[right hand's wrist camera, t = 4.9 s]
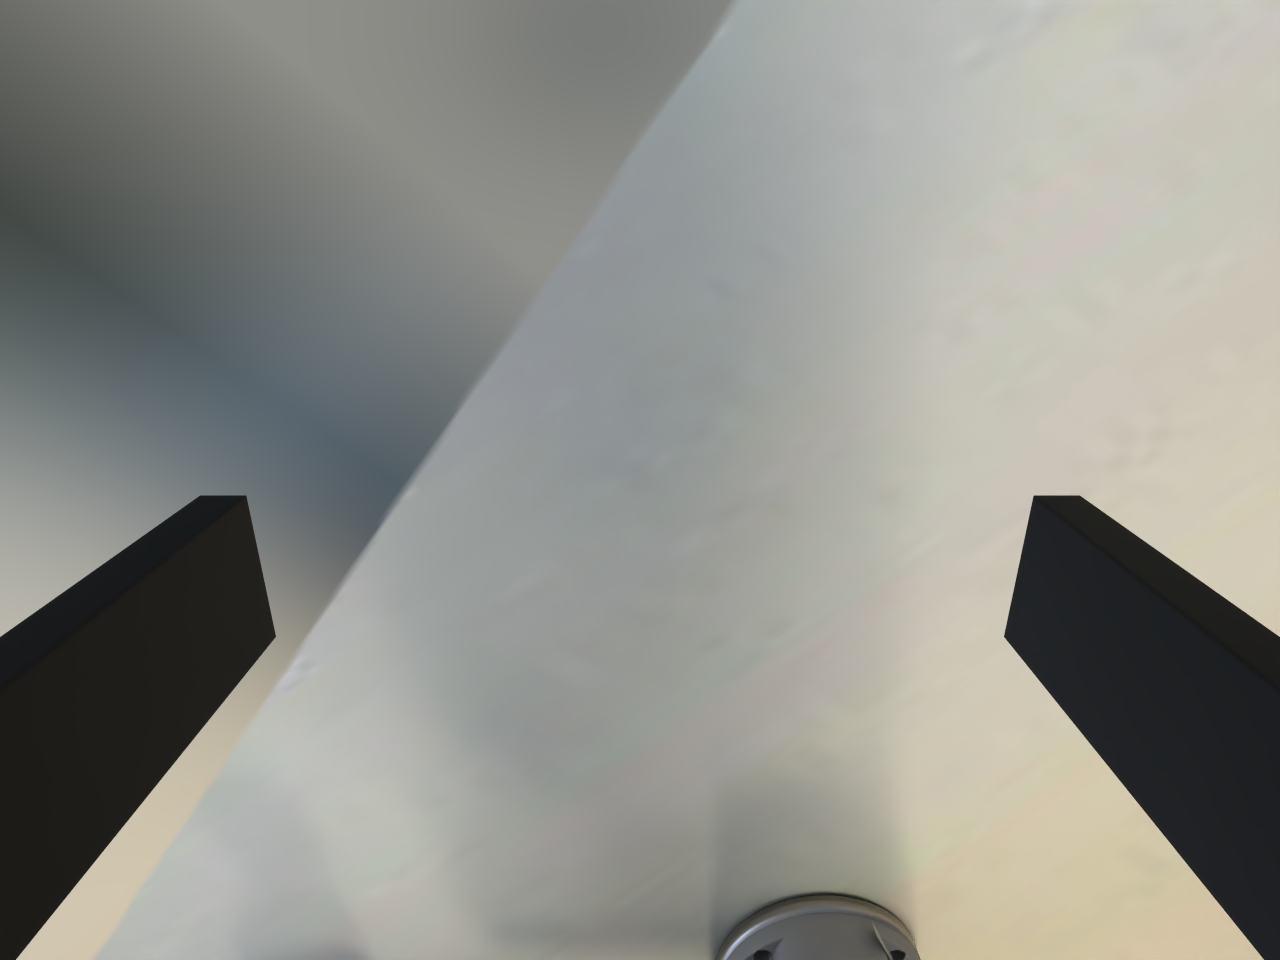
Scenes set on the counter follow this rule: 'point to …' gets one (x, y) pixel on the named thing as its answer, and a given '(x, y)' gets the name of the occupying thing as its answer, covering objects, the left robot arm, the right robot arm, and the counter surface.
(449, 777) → the counter surface
